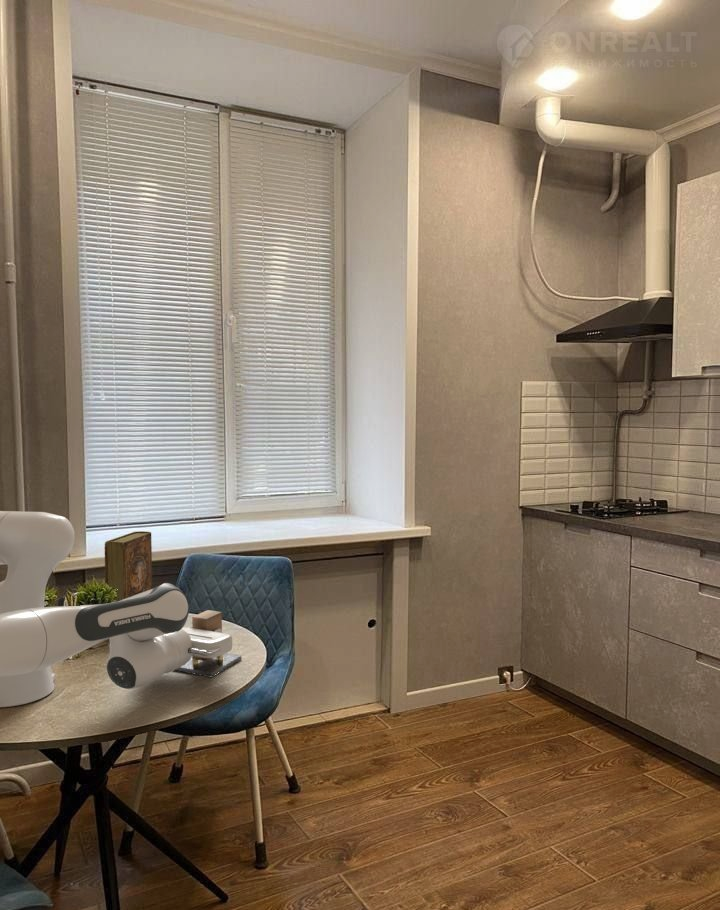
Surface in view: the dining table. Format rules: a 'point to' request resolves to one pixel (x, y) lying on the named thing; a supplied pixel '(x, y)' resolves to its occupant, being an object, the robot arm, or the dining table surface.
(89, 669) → the dining table surface
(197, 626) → the board block
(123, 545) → the book
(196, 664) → the pin plate
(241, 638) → the dining table surface
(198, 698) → the dining table surface
